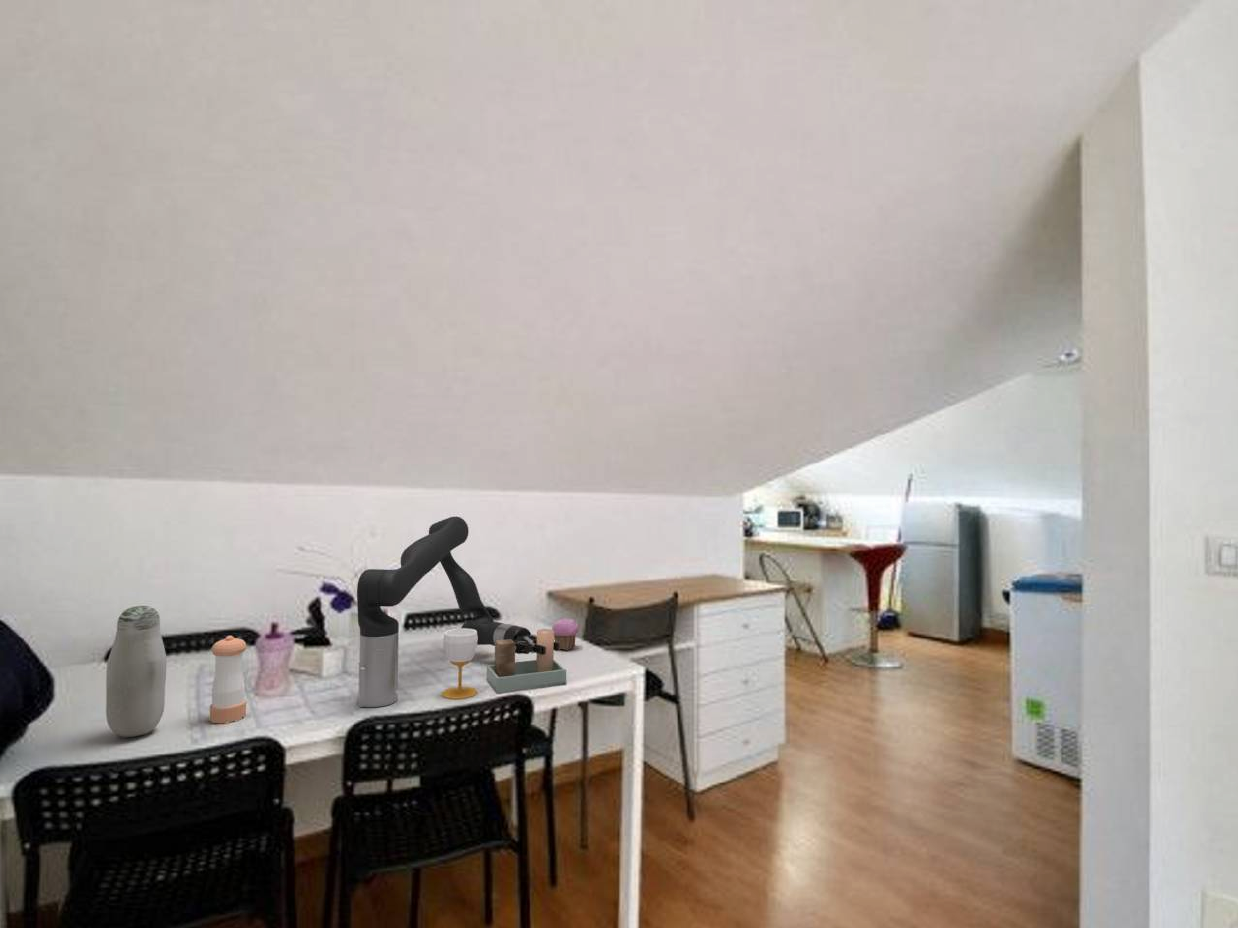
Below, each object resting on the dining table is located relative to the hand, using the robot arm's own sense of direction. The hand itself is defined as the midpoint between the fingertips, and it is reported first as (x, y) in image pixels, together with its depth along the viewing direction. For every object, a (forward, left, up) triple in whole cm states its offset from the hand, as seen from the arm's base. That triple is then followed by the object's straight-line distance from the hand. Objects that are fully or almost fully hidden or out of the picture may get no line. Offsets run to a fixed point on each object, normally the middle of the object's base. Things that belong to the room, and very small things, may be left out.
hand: (551, 648), depth 178 cm
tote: (-7, +2, -9) cm, 11 cm away
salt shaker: (-78, +4, -9) cm, 79 cm away
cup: (-25, 0, -9) cm, 27 cm away
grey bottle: (-95, +1, -9) cm, 96 cm away
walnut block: (-13, +2, -8) cm, 15 cm away
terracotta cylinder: (-1, +2, -6) cm, 7 cm away
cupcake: (+15, +30, -9) cm, 35 cm away
